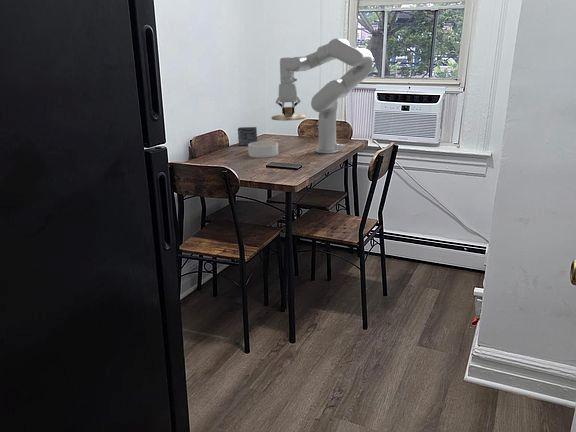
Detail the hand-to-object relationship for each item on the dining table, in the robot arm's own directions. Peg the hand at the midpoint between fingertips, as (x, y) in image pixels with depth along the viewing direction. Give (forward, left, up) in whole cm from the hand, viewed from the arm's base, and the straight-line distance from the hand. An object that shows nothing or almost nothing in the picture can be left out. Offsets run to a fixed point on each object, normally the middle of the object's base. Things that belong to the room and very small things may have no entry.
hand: (288, 114), depth 286 cm
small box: (+24, -17, -19) cm, 35 cm away
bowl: (+15, +15, -19) cm, 28 cm away
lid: (0, 0, -2) cm, 2 cm away
